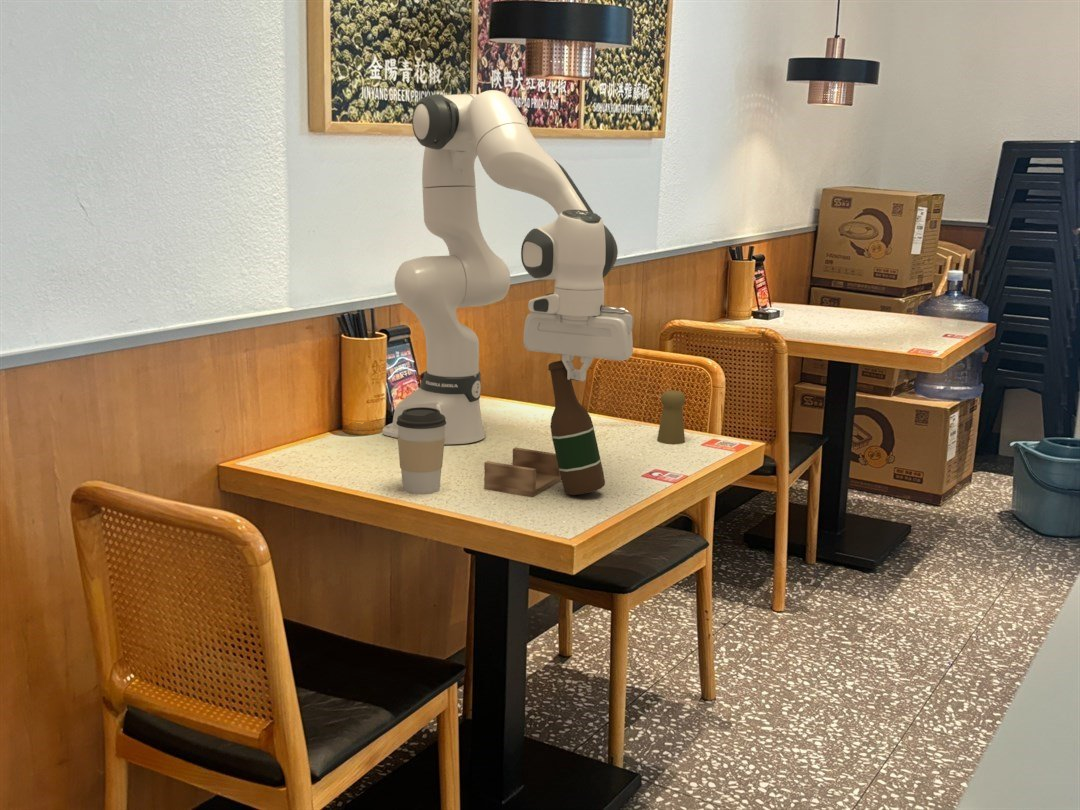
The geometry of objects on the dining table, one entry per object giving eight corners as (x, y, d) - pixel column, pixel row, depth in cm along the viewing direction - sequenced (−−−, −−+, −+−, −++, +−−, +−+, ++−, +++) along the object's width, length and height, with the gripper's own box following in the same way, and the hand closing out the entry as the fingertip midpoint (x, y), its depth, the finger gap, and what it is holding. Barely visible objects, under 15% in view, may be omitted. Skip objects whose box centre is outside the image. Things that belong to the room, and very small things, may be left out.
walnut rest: (484, 488, 212) (484, 462, 211) (515, 472, 223) (515, 447, 222) (532, 497, 208) (533, 470, 207) (561, 479, 219) (562, 454, 218)
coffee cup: (386, 488, 211) (385, 408, 208) (422, 478, 218) (422, 401, 214) (419, 499, 205) (419, 417, 202) (456, 488, 212) (456, 409, 208)
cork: (682, 437, 252) (685, 388, 250) (687, 444, 247) (689, 394, 244) (655, 436, 252) (657, 387, 250) (658, 444, 246) (661, 394, 244)
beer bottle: (563, 490, 214) (535, 364, 211) (603, 481, 214) (576, 355, 211) (566, 498, 206) (537, 368, 203) (608, 488, 206) (580, 358, 204)
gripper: (640, 306, 202) (637, 383, 205) (535, 297, 210) (534, 371, 213) (626, 310, 196) (623, 389, 199) (520, 301, 205) (518, 377, 208)
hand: (576, 380), depth 206 cm, fingers closed
